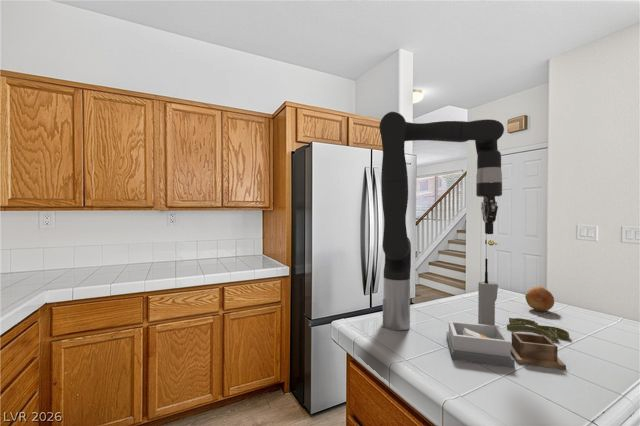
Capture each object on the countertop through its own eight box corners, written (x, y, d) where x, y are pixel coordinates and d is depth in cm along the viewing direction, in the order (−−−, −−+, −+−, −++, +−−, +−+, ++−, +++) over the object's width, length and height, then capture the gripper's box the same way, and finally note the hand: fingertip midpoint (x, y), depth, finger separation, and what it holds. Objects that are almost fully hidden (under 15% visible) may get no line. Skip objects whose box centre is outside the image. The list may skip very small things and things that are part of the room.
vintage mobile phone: (498, 334, 100) (498, 259, 100) (481, 333, 101) (482, 259, 101) (493, 330, 104) (494, 258, 104) (478, 329, 105) (478, 257, 105)
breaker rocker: (464, 337, 87) (466, 332, 87) (462, 331, 91) (464, 327, 91) (490, 347, 85) (492, 342, 85) (487, 342, 89) (489, 337, 89)
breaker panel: (452, 359, 83) (452, 337, 83) (446, 337, 98) (446, 319, 98) (514, 367, 79) (514, 344, 79) (498, 343, 93) (498, 324, 93)
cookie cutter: (500, 328, 106) (500, 323, 106) (511, 321, 114) (511, 315, 114) (565, 346, 93) (565, 339, 93) (573, 335, 101) (573, 329, 101)
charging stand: (517, 363, 81) (517, 344, 81) (505, 345, 92) (505, 329, 92) (566, 369, 78) (566, 350, 78) (547, 350, 88) (547, 333, 88)
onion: (520, 306, 131) (520, 283, 131) (545, 307, 130) (545, 284, 130) (532, 313, 121) (533, 289, 121) (560, 315, 120) (560, 290, 120)
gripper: (473, 184, 108) (473, 232, 108) (480, 180, 95) (480, 235, 95) (496, 183, 106) (496, 233, 106) (507, 179, 93) (507, 235, 93)
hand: (489, 234), depth 101 cm, fingers closed
